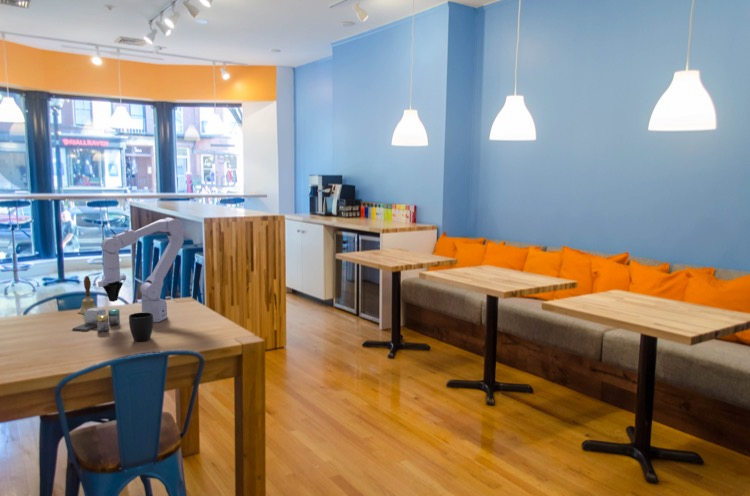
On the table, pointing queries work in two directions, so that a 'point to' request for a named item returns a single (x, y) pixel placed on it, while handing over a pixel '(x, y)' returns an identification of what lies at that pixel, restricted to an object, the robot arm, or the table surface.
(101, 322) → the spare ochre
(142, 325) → the mug
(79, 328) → the pad
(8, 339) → the table surface
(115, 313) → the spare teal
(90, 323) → the control box
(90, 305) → the hand bell
